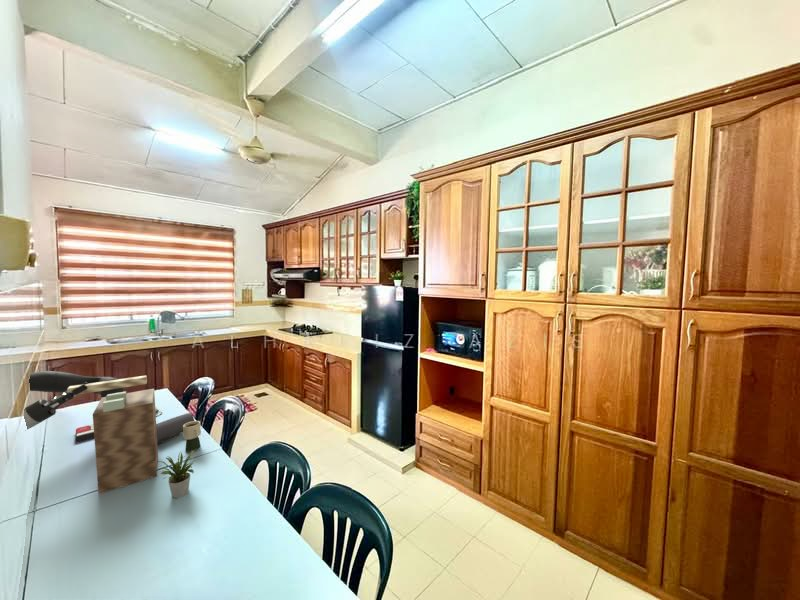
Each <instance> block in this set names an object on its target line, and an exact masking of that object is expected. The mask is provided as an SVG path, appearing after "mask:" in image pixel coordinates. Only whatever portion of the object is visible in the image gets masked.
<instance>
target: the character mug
mask: <svg viewBox="0 0 800 600" xmlns="http://www.w3.org/2000/svg"><path fill="white" fill-rule="evenodd" d="M201 426H202V425H201V421H200V420H194V421H192V422H188V423H186V424H184V425H183V432H182V436H183V439H184V440H186V441H185V452H186V453H187V452H190V453H191V452H192V451H194V450H195V449H196V450H195V451H197V450H199V449H200V448H202V447H201V440H200V438H199V436H200V435H201V434H202V431H201ZM195 451H194V452H195Z"/></svg>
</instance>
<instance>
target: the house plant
mask: <svg viewBox="0 0 800 600" xmlns="http://www.w3.org/2000/svg"><path fill="white" fill-rule="evenodd" d="M195 451H197V450H196V449H195V450H194V451H190V453H189V454H188V456H187V454H185V455H184V456H183V453H182V452H183V451H179V453H178V456H177V457H178V458H177V461H176V462H174V460H173V458H172V457H170V456H167V457H165V458H166V460H167V461H168V462H169V464H170V465H168V464H167V463H166V462H164V461H162V460H158V463H162V464H164V465H165V466H163V467H161V468H160V469H159V471H160V470H163V471H162V472H161V473H160V475H169V476H168V483H167V484H168V486H169V490H170V494H171V497H172V498H174V499H177V498H178V499H179V498H182V497H184V496H185V495H187V494H188V493H189V489H190V481H191V473H192V474H194V472H195V471H194V469H193V467H192V465H193V464H194V461H192V462H190V461H191V460H193V459H194V458H196V456H194V457H192V455H193V453H194V452H195ZM186 456H187V457H186ZM185 457H186V458H185ZM191 457H192V458H191ZM183 458H185V460H184V462H183ZM154 462H157V461H154ZM188 462H190V463H188ZM168 468H169V469H168ZM190 468H191V469H190ZM170 469H171V470H170ZM166 478H167V476H166V477H163V478H162V479H163V480H164V479H166Z"/></svg>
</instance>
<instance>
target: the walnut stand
mask: <svg viewBox="0 0 800 600" xmlns="http://www.w3.org/2000/svg"><path fill="white" fill-rule="evenodd" d="M126 393H127V400H126V402H124V405H125V406H124V408H122V409H117V410H112V411H106V412H103V402H104V401H106V397H102V398H101V397H100V401H99V402H98V404H97V406H96V408H95V409H94V411H93V413H92V424H93V426H94V451H95V463H96V464H95V465H96V477H97V479H96V480H97V490H98V491H97V493H98V495H100V494H103V493H107V492H110V491H113V490H117V489H119V488H123V487H126V486H130V485H132V484H136V483H139V482H143V481H145V480H148V479H152V478H155V477H158V467H159V466H158V464H159V462H158V461H159V448H158V447H159V446H158V445H159V444H158V443H157V428H156V424H157V414H156V413H157V411H156V412H155V407H156V398H155V388H149V389H142V390H137V391H132V392H126ZM154 461H157V462H154Z"/></svg>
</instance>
